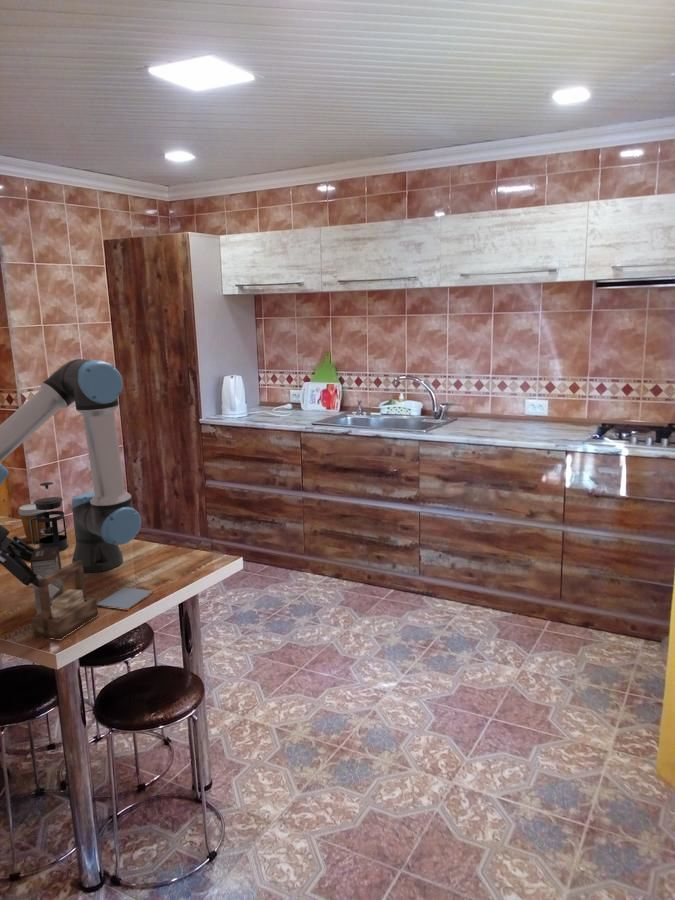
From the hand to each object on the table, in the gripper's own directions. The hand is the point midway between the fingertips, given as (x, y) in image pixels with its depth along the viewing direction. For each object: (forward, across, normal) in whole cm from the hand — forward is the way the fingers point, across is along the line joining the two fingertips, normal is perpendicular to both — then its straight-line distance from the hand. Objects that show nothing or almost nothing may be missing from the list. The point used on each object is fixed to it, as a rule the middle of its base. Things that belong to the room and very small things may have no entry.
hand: (59, 586), depth 178 cm
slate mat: (+16, -3, +6) cm, 18 cm away
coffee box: (+3, 0, -7) cm, 7 cm away
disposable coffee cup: (-10, -66, -20) cm, 70 cm away
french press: (-4, -54, -14) cm, 56 cm away
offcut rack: (+7, +10, -3) cm, 13 cm away
